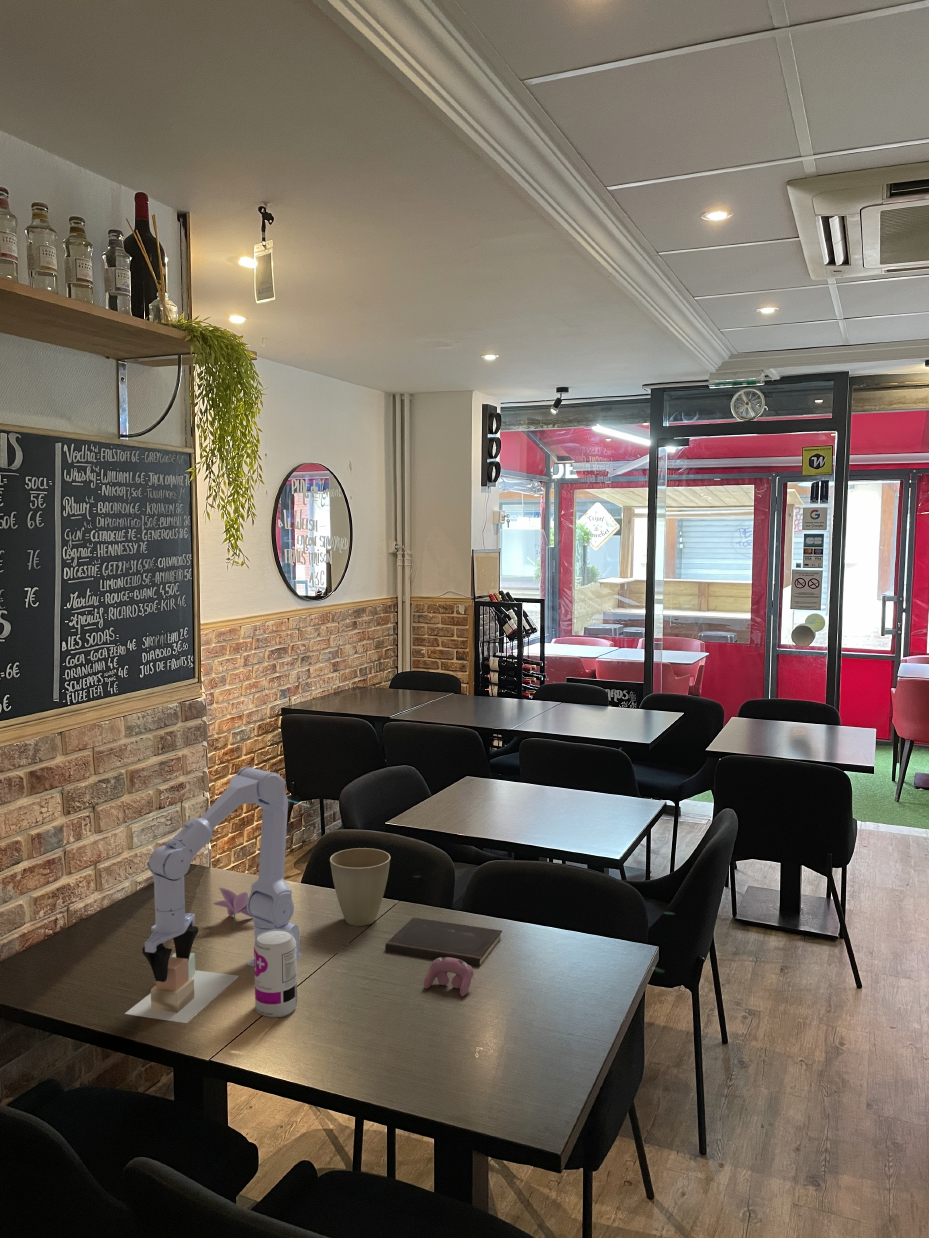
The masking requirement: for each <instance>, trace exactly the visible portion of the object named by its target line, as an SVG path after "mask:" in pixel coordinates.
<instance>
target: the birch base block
mask: <svg viewBox="0 0 929 1238" xmlns="http://www.w3.org/2000/svg"><path fill="white" fill-rule="evenodd" d="M150 993H151V1009H156V1010H162V1011H169V1012H176V1013H178V1012H179V1011H180V1010H181V1009H183V1008H184V1007H185V1006H186V1005H187V1004H188V1003H190V1002H191V1001H192V1000H193V999H194V979H189V980H188V981H187V982H186V983H185V984H184V985H182V986H181V987H180V988H179V989H178V990H177V991H174V990H167V989H159V988H156V985H154V986H153V987H152V988H151V989H150Z"/></svg>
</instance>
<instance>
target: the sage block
mask: <svg viewBox="0 0 929 1238" xmlns="http://www.w3.org/2000/svg"><path fill="white" fill-rule="evenodd" d="M171 957H176V952H174V953H172V955H171ZM195 970H196V953H195V952H190V957H189V961H188V976H189V979H192V978H193V976H194V974H195Z"/></svg>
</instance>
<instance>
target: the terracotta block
mask: <svg viewBox="0 0 929 1238" xmlns="http://www.w3.org/2000/svg"><path fill="white" fill-rule="evenodd" d="M188 980H189V976H188V959H184V958H176V957H172V956H170V957H169V962H168V974H167V980H166V981H165V982H160V981H156V980H155V984H156V985H155V986H156V988H159V989H167V990H174V991H177V990H178V989H179V988H180V987H181V986H182V985H184V984H185V983H186V982H187V981H188Z"/></svg>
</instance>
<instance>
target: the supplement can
mask: <svg viewBox="0 0 929 1238" xmlns="http://www.w3.org/2000/svg"><path fill="white" fill-rule="evenodd" d="M253 958H254V966H253V967H254V968H253V969H254V993H255V994H254V997H255V998H254V999H255V1000H254V1001H255V1004H254V1005H255V1011H256V1012H257V1013H258V1014H259V1015H262V1016H264V1017H267V1018H268V1017H270V1018H276V1017H277V1018H278V1019H280V1018H282V1017H286V1016H288V1015H290V1014H292V1012H293V1011H294V1010H295V1009H296V1008H297V1007H298V969H297V967H298V966H297V963H298V962H297V960H296V940H295V939H294V937H293V934H292V933H291V932H290V931H288V930H283V929H275V930H269V931H265V932H263V933H261V934H260V935H259V936H258V937H257V940H256V942H255V941H254V946H253Z"/></svg>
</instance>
